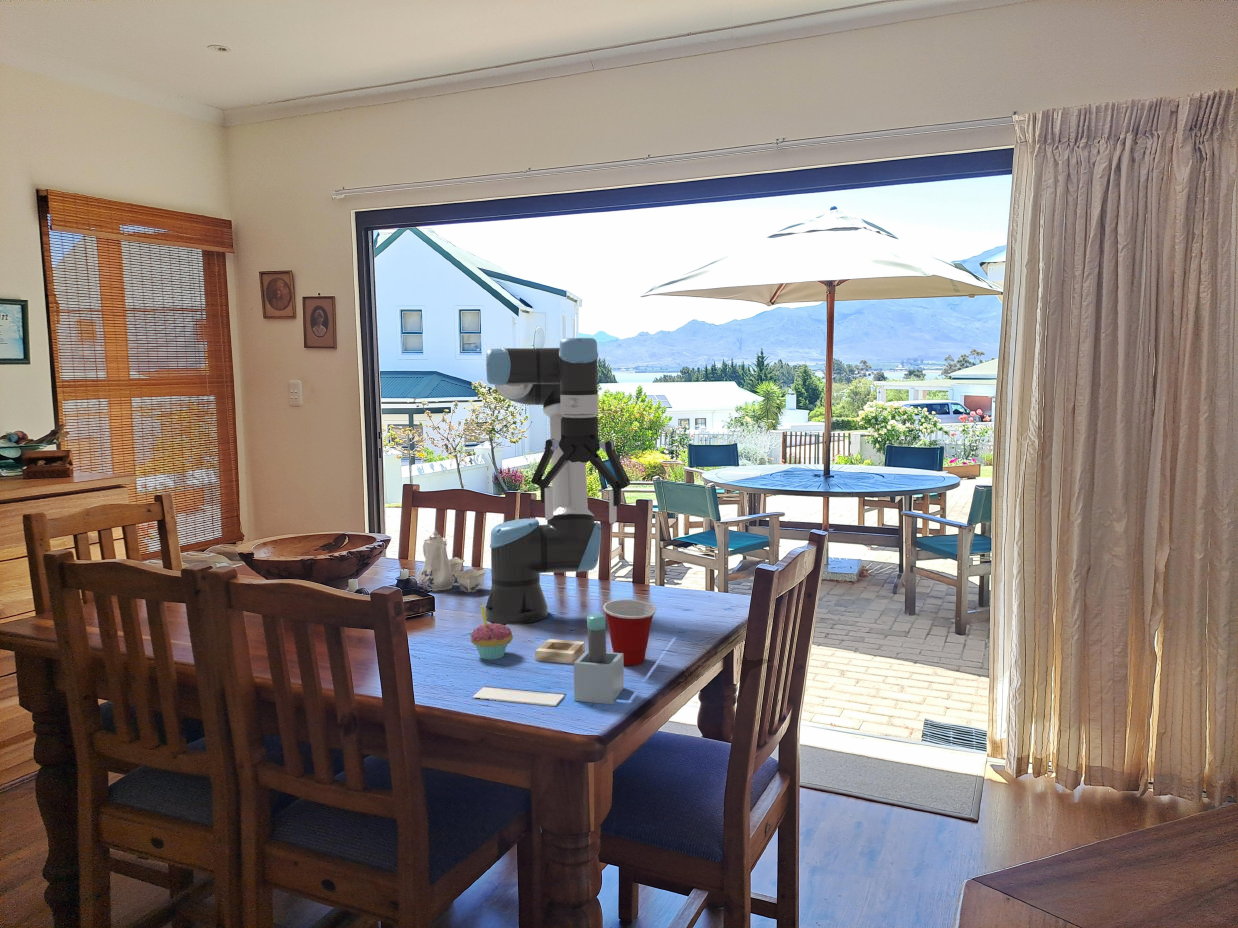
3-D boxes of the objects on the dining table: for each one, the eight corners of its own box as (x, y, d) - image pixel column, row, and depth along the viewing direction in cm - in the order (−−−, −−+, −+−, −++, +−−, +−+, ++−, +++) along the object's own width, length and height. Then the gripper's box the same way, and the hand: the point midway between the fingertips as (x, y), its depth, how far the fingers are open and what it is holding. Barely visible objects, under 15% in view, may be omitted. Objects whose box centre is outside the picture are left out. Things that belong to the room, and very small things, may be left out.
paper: (472, 698, 156) (472, 696, 156) (503, 672, 169) (503, 670, 169) (555, 706, 152) (555, 704, 152) (580, 679, 165) (580, 677, 165)
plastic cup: (632, 676, 166) (631, 616, 165) (592, 664, 173) (591, 606, 172) (668, 662, 174) (667, 604, 173) (628, 651, 181) (628, 596, 180)
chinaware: (495, 597, 234) (499, 537, 233) (438, 601, 224) (442, 538, 223) (452, 578, 257) (456, 523, 256) (398, 581, 247) (402, 523, 246)
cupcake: (477, 666, 173) (475, 608, 172) (466, 654, 181) (465, 598, 180) (518, 660, 177) (516, 603, 175) (506, 648, 184) (505, 593, 183)
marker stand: (535, 662, 175) (535, 650, 175) (549, 650, 183) (548, 638, 182) (572, 665, 173) (572, 653, 173) (584, 653, 181) (584, 641, 180)
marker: (591, 694, 154) (588, 620, 152) (588, 687, 158) (585, 614, 155) (609, 693, 155) (606, 618, 153) (606, 685, 158) (603, 612, 156)
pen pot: (574, 700, 154) (573, 662, 154) (586, 686, 161) (586, 650, 160) (612, 704, 152) (612, 665, 152) (623, 689, 159) (623, 653, 159)
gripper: (513, 416, 171) (516, 520, 174) (635, 418, 164) (635, 526, 167) (527, 413, 178) (530, 513, 181) (644, 415, 172) (644, 519, 175)
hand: (580, 520), depth 174 cm, fingers open, 13 cm apart
